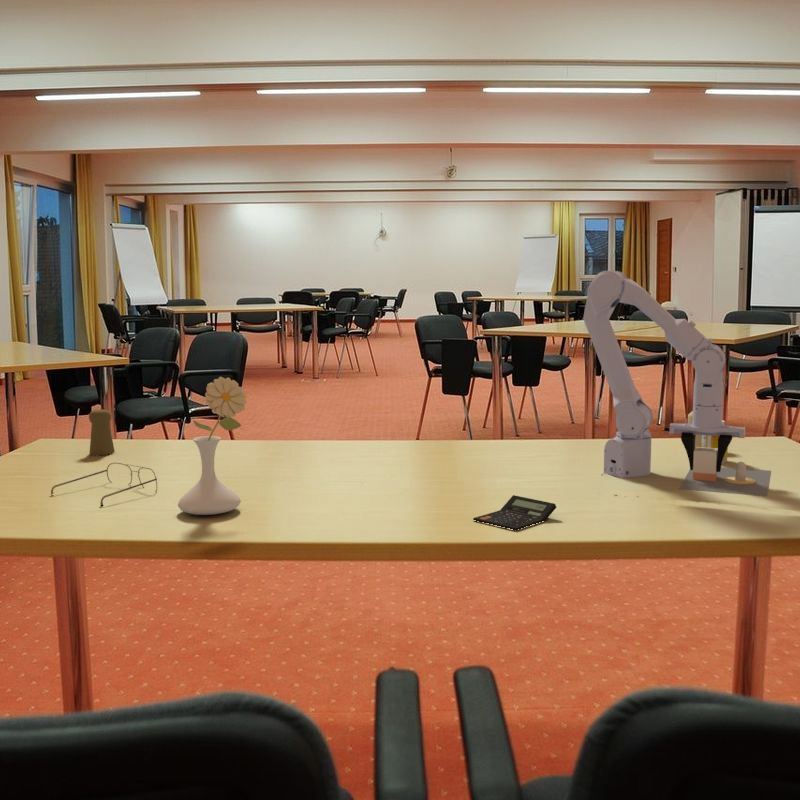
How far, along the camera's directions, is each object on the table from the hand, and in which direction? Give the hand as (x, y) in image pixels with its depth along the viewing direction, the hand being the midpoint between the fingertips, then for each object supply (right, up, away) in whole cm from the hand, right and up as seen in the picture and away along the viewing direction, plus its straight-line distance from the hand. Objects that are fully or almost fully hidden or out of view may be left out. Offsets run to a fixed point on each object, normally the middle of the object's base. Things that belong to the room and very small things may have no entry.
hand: (705, 470), depth 180 cm
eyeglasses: (-122, -5, -3) cm, 122 cm away
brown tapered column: (-137, +1, +38) cm, 143 cm away
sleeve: (0, -2, 0) cm, 2 cm away
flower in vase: (-97, -6, -18) cm, 99 cm away
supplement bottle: (+8, -1, +17) cm, 19 cm away
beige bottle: (+11, +2, +36) cm, 37 cm away
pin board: (+4, -3, -1) cm, 5 cm away
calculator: (-43, -7, -26) cm, 50 cm away
